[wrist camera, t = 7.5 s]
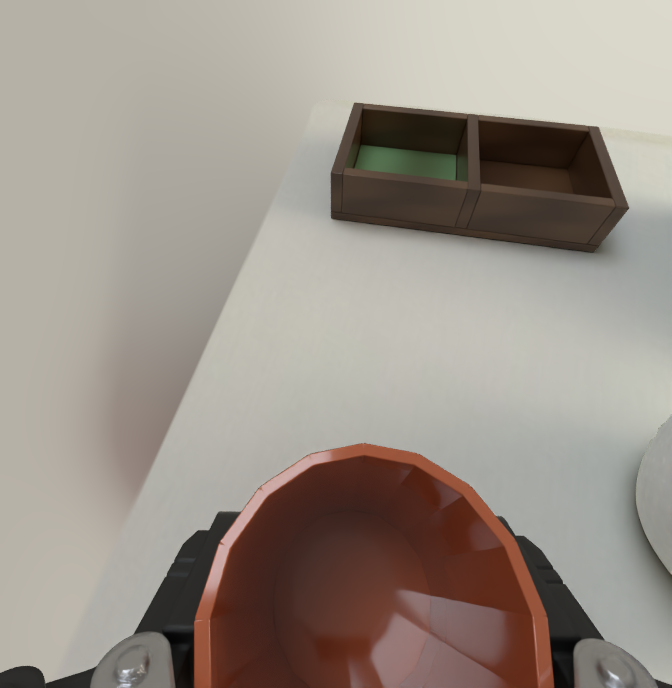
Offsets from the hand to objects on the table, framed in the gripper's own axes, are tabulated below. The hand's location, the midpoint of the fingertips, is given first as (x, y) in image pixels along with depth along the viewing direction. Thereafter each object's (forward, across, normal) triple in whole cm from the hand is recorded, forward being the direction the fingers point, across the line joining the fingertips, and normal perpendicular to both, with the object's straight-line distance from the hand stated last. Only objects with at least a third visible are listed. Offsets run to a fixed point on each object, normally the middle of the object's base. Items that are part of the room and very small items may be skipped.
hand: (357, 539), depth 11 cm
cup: (+3, 0, +5) cm, 6 cm away
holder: (+21, -9, -13) cm, 26 cm away
